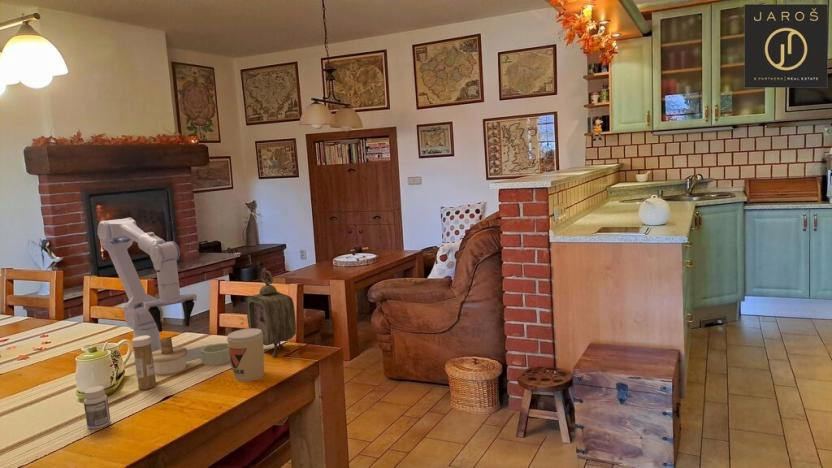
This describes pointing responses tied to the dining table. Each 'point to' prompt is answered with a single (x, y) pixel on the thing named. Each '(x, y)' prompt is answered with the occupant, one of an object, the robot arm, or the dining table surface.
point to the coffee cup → (246, 354)
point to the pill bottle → (96, 407)
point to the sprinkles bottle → (144, 362)
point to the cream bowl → (170, 366)
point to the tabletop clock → (271, 314)
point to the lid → (168, 351)
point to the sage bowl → (215, 354)
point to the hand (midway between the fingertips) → (173, 328)
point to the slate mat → (194, 353)
